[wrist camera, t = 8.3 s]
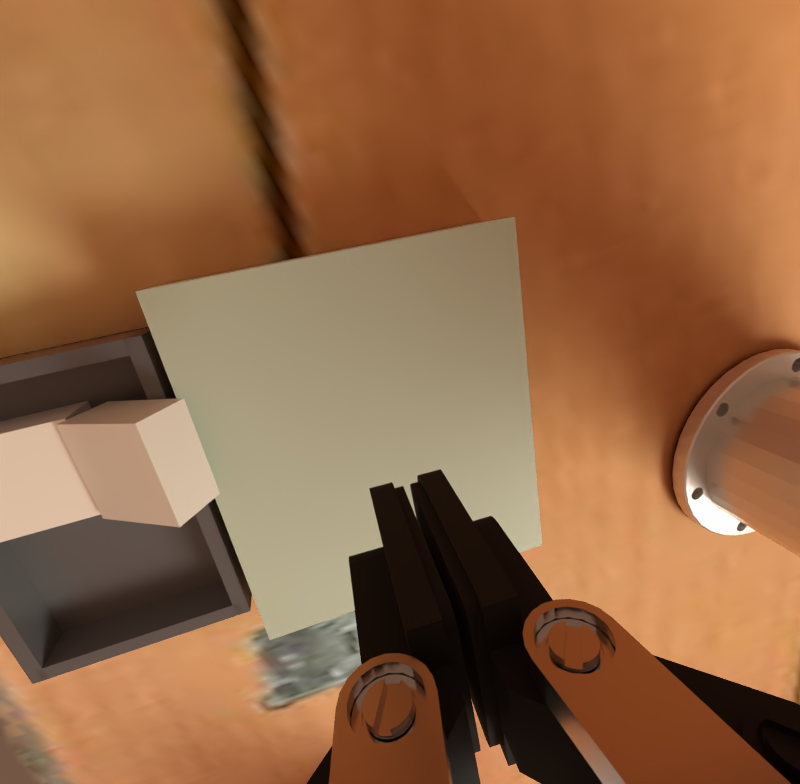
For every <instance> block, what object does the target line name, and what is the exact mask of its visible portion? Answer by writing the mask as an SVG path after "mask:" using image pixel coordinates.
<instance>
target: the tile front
mask: <svg viewBox="0 0 800 784" xmlns="http://www.w3.org/2000/svg"><path fill="white" fill-rule="evenodd" d="M56 426H57V428H58V430H59V432H60V434H61V436H62V438H63V440H64V442H65V444H66V446H67V448H68V450H69V452H70V454H71V456H72V458H73V460H74V462H75V464H76V466H77V468H78V470H79V472H80V474H81V476H82V478H83V480H84V482H85V484H86V486H87V488H88V490H89V492H90V494H91V496H92V498H93V500H94V502H95V504H96V506H97V508H98V510H99V512H100V514H101V516H102V518H103V519H110V520H119V521H128V522H137V523H146V524H155V525H164V526H172V527H181V526H182V525H183V524H185V523H186V522H187V521H188V520H189V519H190V518H192V517H193V516H194V515H195V514H196V513H198V512H199V511H200V510H201V509H202V508H203V507H205V506H206V505H207V504H208V503H209V502H211V501H212V500H213V499H214V498H215V497H216V496H218V495H219V494H220V492H219V489H218V487H217V484H216V481H215V479H214V476H213V474H212V471H211V468H210V466H209V463H208V460H207V458H206V455H205V453H204V450H203V447H202V445H201V442H200V439H199V437H198V434H197V431H196V429H195V426H194V424H193V421H192V418H191V416H190V413H189V410H188V408H187V405H186V403H185V400H184V398H178V399H154V400H129V401H108V402H106V403H103V404H101V405H99V406H97V407H94V408H92V409H90V410H88V411H85V412H83V413H81V414H78V415H76V416H74V417H72V418H69V419H67V420H65V421H63V422H60V423H58V424H56Z"/></svg>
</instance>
